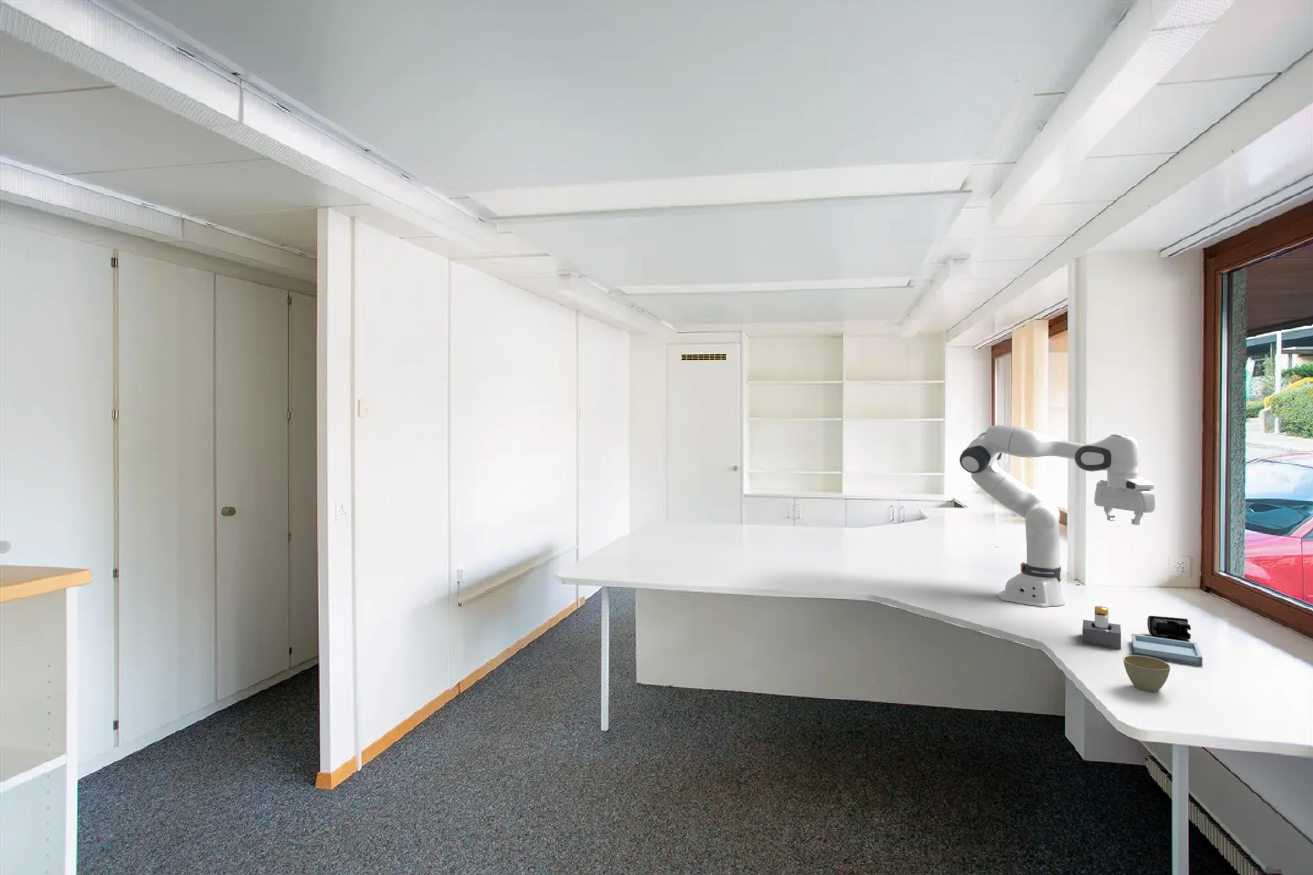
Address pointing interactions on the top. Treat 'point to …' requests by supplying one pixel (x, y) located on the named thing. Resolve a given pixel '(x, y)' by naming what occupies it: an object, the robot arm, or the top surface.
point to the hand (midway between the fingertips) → (1123, 522)
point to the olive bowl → (1146, 672)
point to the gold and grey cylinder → (1101, 617)
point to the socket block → (1101, 635)
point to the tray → (1166, 649)
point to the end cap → (1169, 628)
